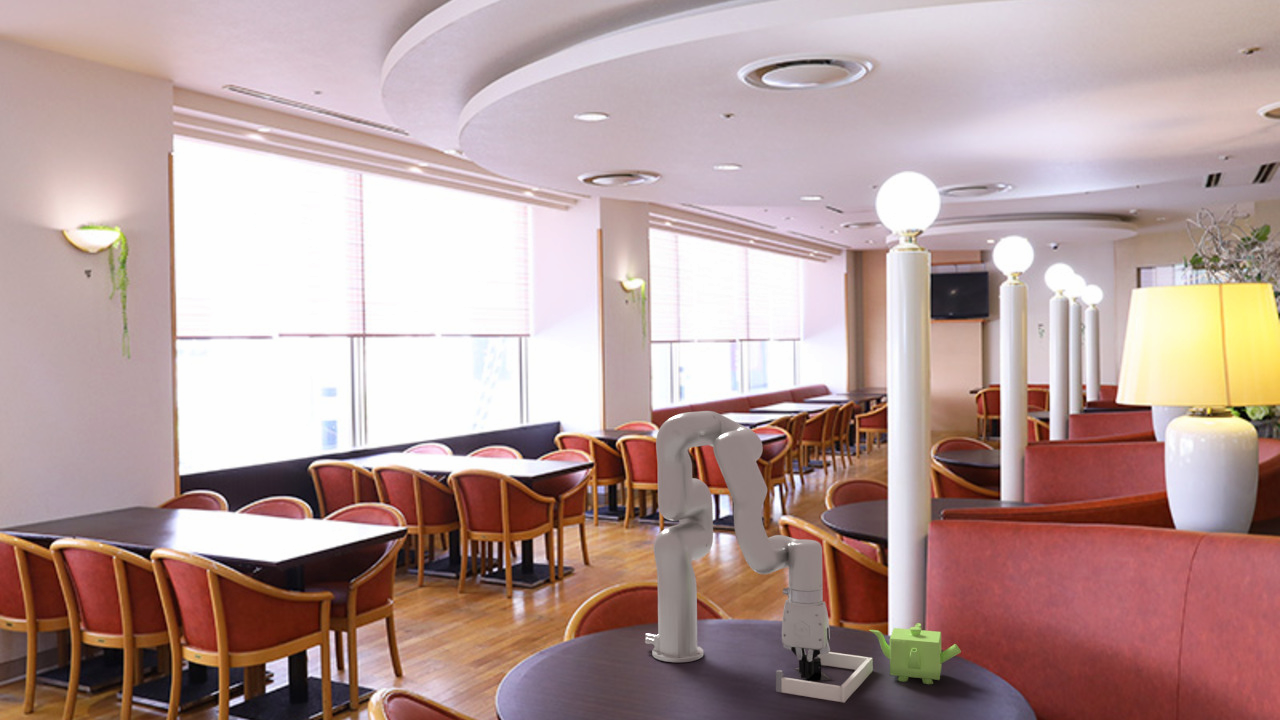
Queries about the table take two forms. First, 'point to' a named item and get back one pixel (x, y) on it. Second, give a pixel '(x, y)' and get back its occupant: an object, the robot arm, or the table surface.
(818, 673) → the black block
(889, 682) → the table surface
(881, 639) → the kettle
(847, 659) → the bay
